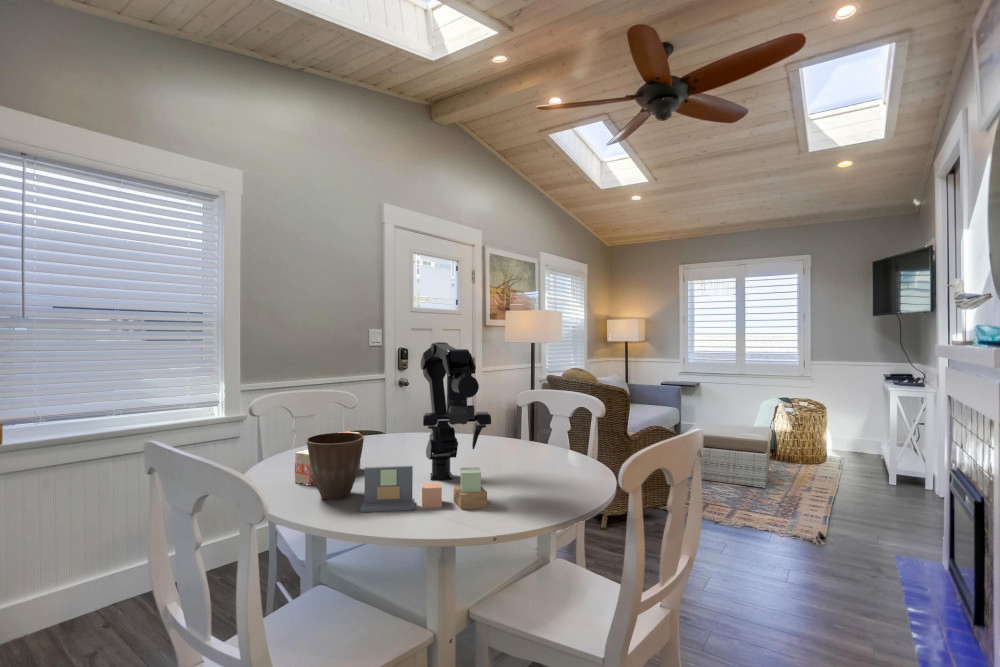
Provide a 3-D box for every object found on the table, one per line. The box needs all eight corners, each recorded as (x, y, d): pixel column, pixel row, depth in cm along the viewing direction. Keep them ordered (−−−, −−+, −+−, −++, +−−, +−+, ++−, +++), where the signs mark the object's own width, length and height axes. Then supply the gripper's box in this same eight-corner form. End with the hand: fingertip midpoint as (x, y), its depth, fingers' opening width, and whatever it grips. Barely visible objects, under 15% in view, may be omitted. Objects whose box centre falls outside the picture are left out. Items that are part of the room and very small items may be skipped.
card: (363, 504, 132) (363, 465, 132) (414, 502, 134) (414, 464, 134) (360, 512, 126) (360, 471, 126) (413, 509, 128) (413, 470, 128)
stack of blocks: (309, 486, 148) (309, 444, 148) (294, 483, 151) (294, 442, 151) (360, 469, 167) (360, 432, 167) (346, 467, 170) (346, 430, 170)
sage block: (460, 486, 135) (460, 467, 135) (479, 486, 136) (479, 467, 136) (461, 492, 130) (461, 473, 130) (480, 491, 131) (480, 472, 131)
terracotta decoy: (422, 501, 134) (422, 482, 134) (441, 500, 135) (441, 482, 135) (421, 508, 129) (422, 488, 130) (441, 507, 130) (441, 487, 130)
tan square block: (453, 502, 135) (453, 487, 135) (478, 499, 137) (478, 484, 137) (460, 510, 128) (460, 494, 128) (487, 507, 131) (487, 491, 131)
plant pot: (368, 500, 135) (369, 440, 135) (309, 508, 129) (309, 445, 129) (358, 485, 149) (358, 430, 149) (303, 492, 142) (304, 435, 142)
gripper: (423, 397, 133) (422, 457, 133) (493, 396, 136) (493, 455, 136) (423, 393, 144) (423, 448, 144) (488, 392, 147) (488, 446, 147)
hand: (456, 449), depth 142 cm, fingers open, 9 cm apart
